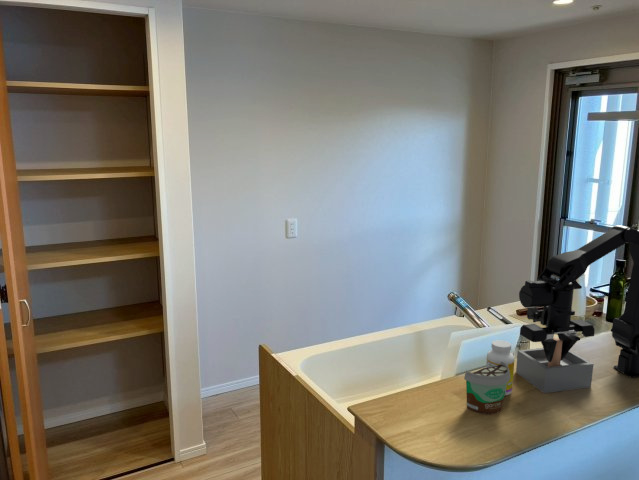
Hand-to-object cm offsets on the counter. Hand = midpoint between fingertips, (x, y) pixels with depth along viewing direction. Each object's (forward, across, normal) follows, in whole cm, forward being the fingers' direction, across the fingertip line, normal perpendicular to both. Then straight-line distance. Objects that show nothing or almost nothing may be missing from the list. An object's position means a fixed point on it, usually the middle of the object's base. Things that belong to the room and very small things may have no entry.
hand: (554, 360), depth 137 cm
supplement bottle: (+6, +18, +2) cm, 19 cm away
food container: (+6, +25, +10) cm, 27 cm away
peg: (+2, 0, 0) cm, 2 cm away
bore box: (+5, 0, 0) cm, 5 cm away
